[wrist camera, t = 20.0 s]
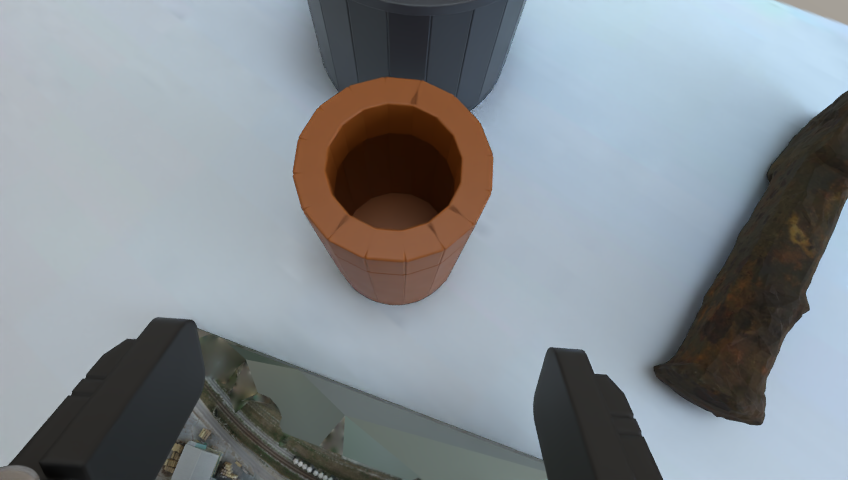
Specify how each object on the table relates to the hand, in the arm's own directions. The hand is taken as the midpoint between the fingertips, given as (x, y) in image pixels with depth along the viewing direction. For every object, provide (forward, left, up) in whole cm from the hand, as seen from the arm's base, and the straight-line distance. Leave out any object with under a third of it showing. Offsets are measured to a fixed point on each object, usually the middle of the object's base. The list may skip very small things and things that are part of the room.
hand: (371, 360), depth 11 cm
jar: (0, +6, -12) cm, 13 cm away
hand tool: (+18, +8, -12) cm, 23 cm away
